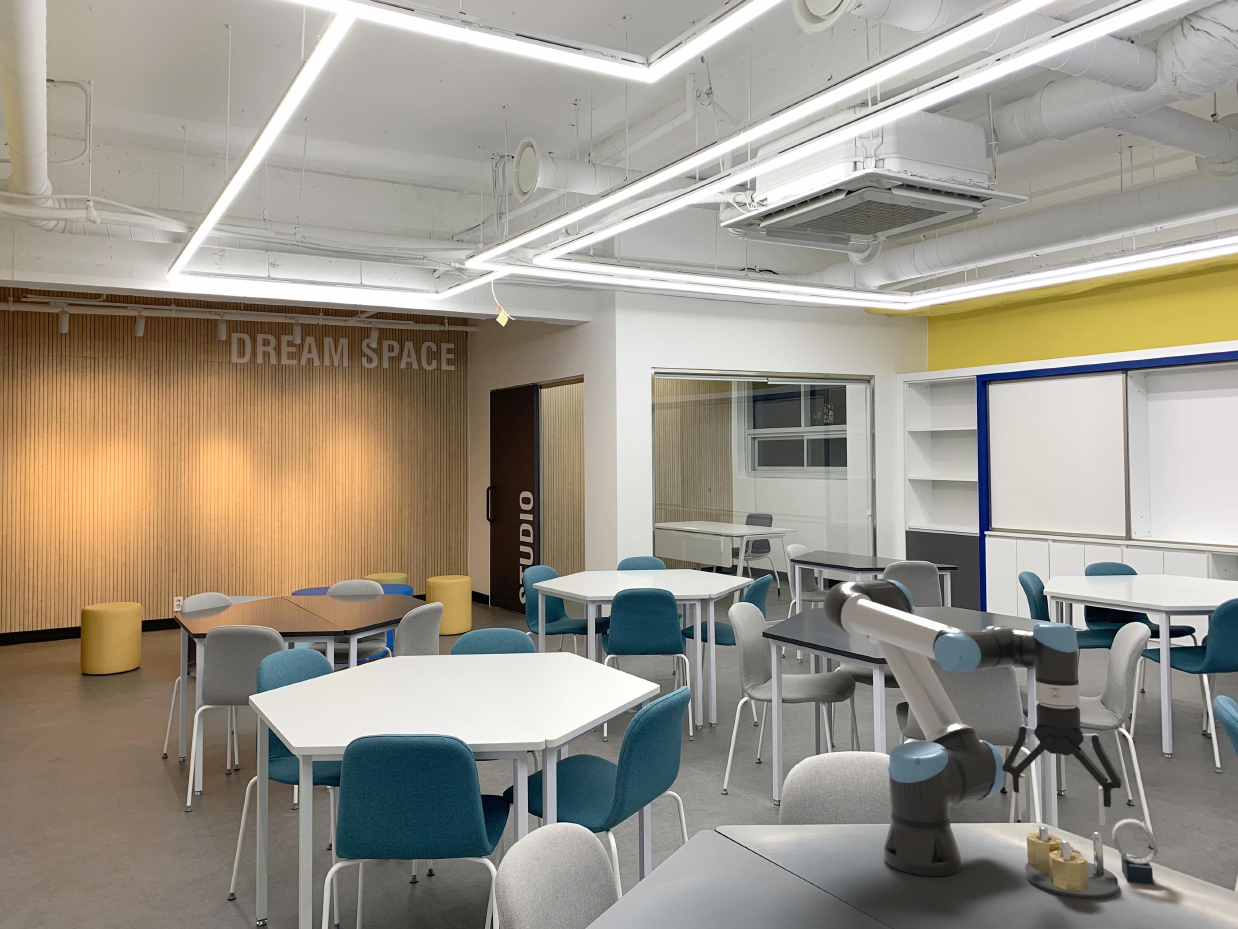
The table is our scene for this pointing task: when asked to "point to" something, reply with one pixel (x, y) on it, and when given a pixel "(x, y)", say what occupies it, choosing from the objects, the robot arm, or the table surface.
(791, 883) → the table surface
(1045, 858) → the planet gear
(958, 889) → the table surface
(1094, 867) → the carrier
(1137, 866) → the watch
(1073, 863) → the planet gear
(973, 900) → the table surface
